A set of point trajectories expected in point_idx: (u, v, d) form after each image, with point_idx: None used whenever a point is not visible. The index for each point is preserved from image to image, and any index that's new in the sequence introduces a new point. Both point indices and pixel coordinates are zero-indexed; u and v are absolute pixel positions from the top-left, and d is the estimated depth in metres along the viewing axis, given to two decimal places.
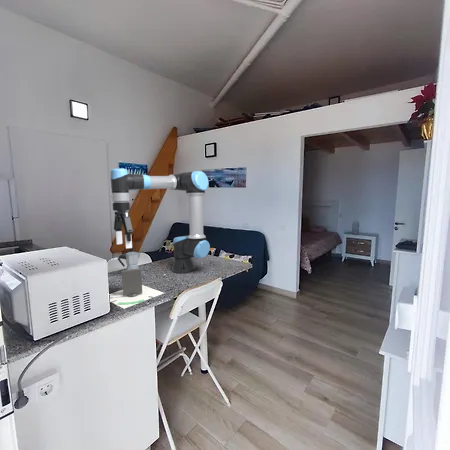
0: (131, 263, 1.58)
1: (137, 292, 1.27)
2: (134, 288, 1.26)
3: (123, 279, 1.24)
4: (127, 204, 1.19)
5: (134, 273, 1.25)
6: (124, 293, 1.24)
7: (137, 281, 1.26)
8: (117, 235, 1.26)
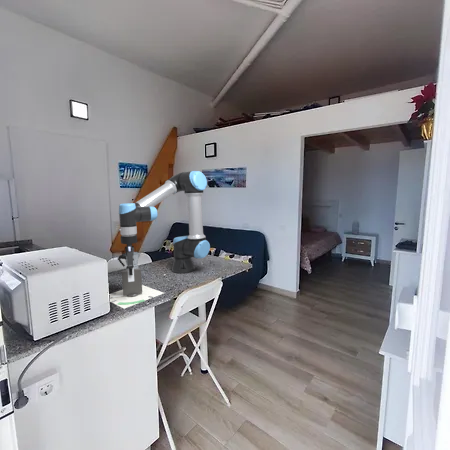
0: None
1: (137, 292, 1.27)
2: (134, 288, 1.26)
3: (123, 279, 1.24)
4: (133, 238, 1.21)
5: (134, 273, 1.25)
6: (124, 293, 1.24)
7: (137, 281, 1.26)
8: None
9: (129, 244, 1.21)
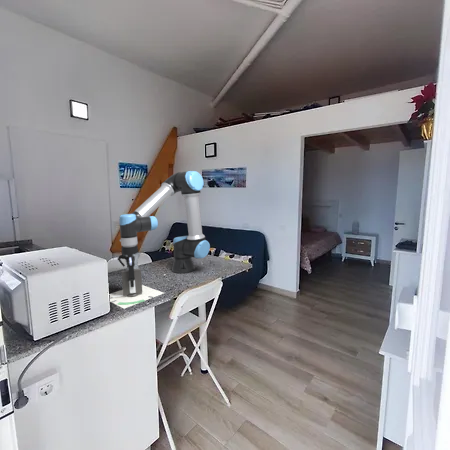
0: None
1: (137, 292, 1.27)
2: None
3: (123, 279, 1.24)
4: (133, 248, 1.22)
5: (134, 273, 1.25)
6: (124, 293, 1.24)
7: (137, 281, 1.26)
8: None
9: (130, 255, 1.21)
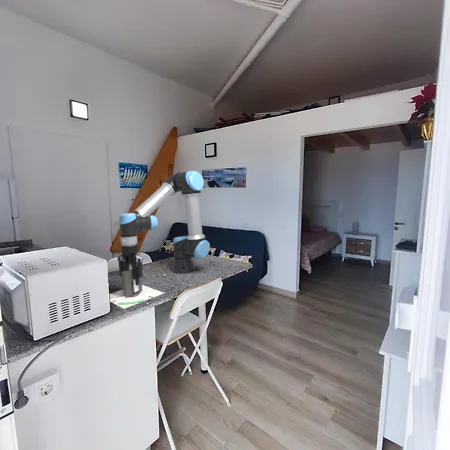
0: None
1: (138, 291, 1.28)
2: None
3: (126, 279, 1.22)
4: (137, 246, 1.25)
5: None
6: (127, 294, 1.23)
7: None
8: None
9: (136, 253, 1.24)
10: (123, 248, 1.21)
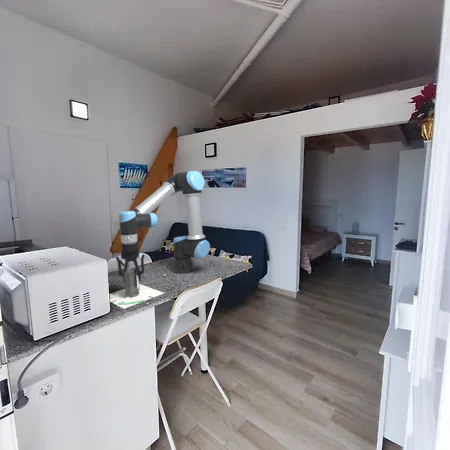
0: (131, 263, 1.58)
1: (137, 290, 1.29)
2: (136, 287, 1.28)
3: (130, 279, 1.22)
4: None
5: (135, 272, 1.27)
6: (131, 294, 1.23)
7: (136, 279, 1.29)
8: None
9: None
10: (127, 246, 1.21)
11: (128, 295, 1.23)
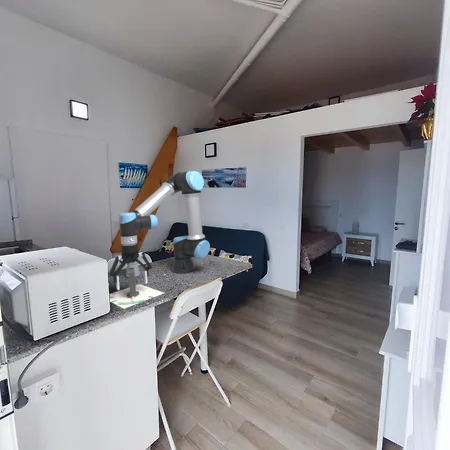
0: (131, 263, 1.58)
1: (135, 290, 1.30)
2: None
3: None
4: None
5: None
6: (136, 293, 1.24)
7: None
8: None
9: None
10: (130, 247, 1.21)
11: (133, 295, 1.23)
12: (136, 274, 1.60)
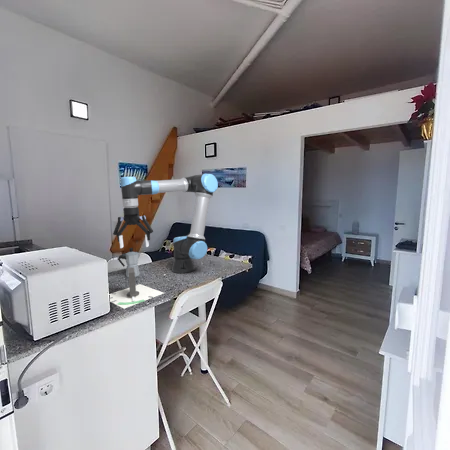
0: (131, 263, 1.58)
1: (135, 290, 1.30)
2: None
3: None
4: None
5: None
6: (136, 293, 1.24)
7: None
8: (121, 239, 1.32)
9: (138, 214, 1.32)
10: (127, 209, 1.27)
11: (133, 295, 1.23)
12: (136, 274, 1.60)
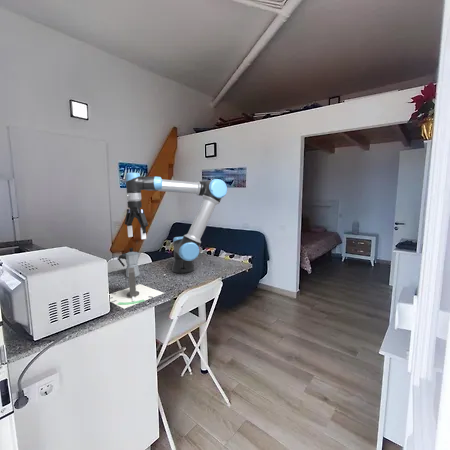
0: (131, 263, 1.58)
1: (135, 290, 1.30)
2: None
3: None
4: (140, 202, 1.42)
5: None
6: (136, 293, 1.24)
7: None
8: (129, 229, 1.48)
9: (138, 208, 1.41)
10: (128, 203, 1.40)
11: (133, 295, 1.23)
12: (136, 274, 1.60)
